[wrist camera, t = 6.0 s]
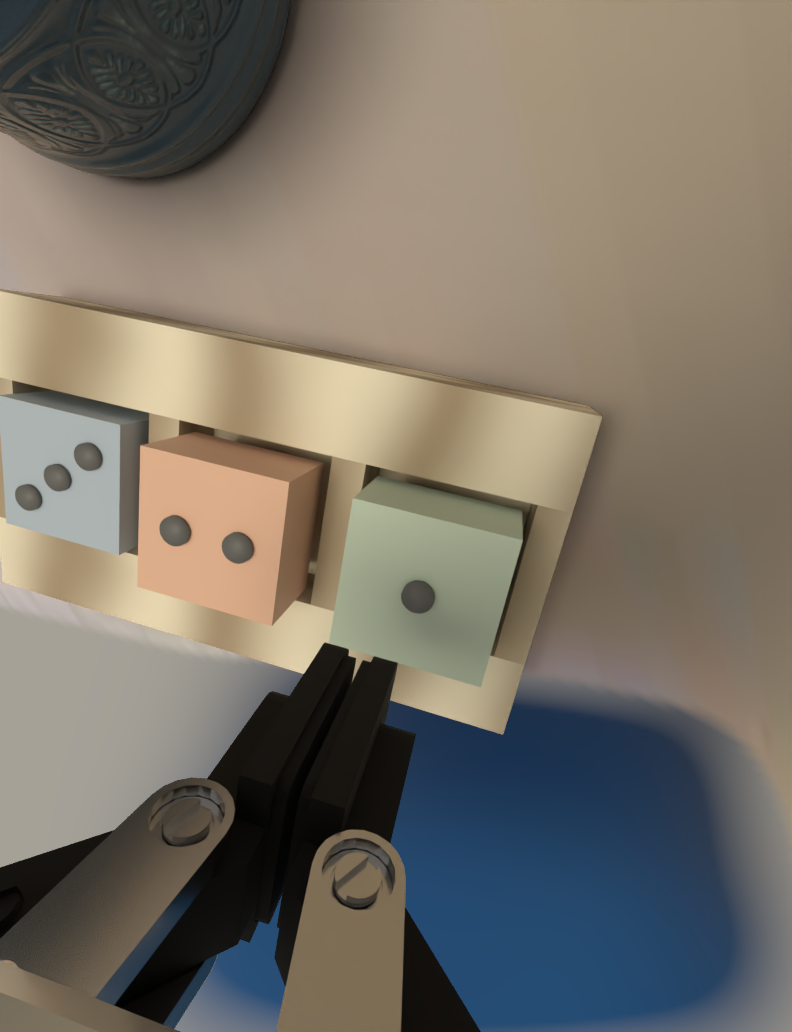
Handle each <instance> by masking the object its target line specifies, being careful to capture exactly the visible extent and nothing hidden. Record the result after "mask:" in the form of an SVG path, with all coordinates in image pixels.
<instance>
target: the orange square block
mask: <svg viewBox="0 0 792 1032" xmlns="http://www.w3.org/2000/svg"><path fill="white" fill-rule="evenodd" d="M323 465H324V463H323V462H319V461H315V460H311V459H306V458H302V457H298V456H294V455H290V454H286V453H281V452H277V451H273V450H269V449H265V448H261V447H256V446H252V445H248V444H244V443H240V442H235V441H231V440H227V439H223V438H219V437H215V436H210V435H206V434H202V433H198V432H193V433H188V434H184V435H180V436H176V437H172V438H168V439H164V440H160V441H156V442H152V443H148V444H144V445H140V484H139V529H138V574H137V587H140V588H143V589H147V590H150V591H153V592H157V593H160V594H164V595H167V596H171V597H174V598H177V599H181V600H184V601H188V602H191V603H194V604H198V605H201V606H205V607H208V608H211V609H215V610H218V611H222V612H225V613H229V614H232V615H235V616H239V617H242V618H246V619H249V620H252V621H256V622H259V623H263V624H266V625H270V626H273V624H274V623H275V622H276V621H277V620H278V619H279V618H280V617H281V616H282V614H283V613H284V612H285V611H286V610H287V609H288V608H289V607H290V605H291V604H292V603H293V602H294V601H295V600H296V599H297V598H298V597H299V595H300V594H301V593H302V592H303V591H304V590H305V589H306V585H307V578H308V571H309V564H310V557H311V550H312V543H313V536H314V528H315V521H316V514H317V507H318V500H319V493H320V486H321V479H322V472H323Z"/></svg>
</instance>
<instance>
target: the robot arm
mask: <svg viewBox="0 0 792 1032" xmlns="http://www.w3.org/2000/svg"><path fill="white" fill-rule="evenodd" d="M355 664H356V658H354V657H351V656H349V649H347V648H344V647H340V646H337V645H333V644H329V643H326V642H325V643H324V644H323V645H322V647H321V648H320V650H319V651H318V653H317V654H316V656H315V657H314V659H313V661H312V662H311V664H310V665H309V667H308V668H307V670H306V671H305V673H304V675H303V676H302V678H301V679H300V681H299V683H298V684H297V686H296V687H295V689H294V690H293V692H292V693H291V695H290V696H287V695H283V694H280V693H277V692H273V691H272V692H270V693H269V694H268V695H267V696H266V697H265V698H264V700H263V701H262V703H261V704H260V706H259V707H258V708H257V710H256V711H255V712H254V714H253V715H252V717H251V718H250V720H249V721H248V722H247V724H246V725H245V726H244V728H243V729H242V731H241V732H240V733H239V735H238V736H237V738H236V739H235V740H234V742H233V743H232V745H231V746H230V748H229V749H228V750H227V752H226V753H225V755H224V756H223V757H222V759H221V760H220V762H219V763H218V764H217V766H216V767H215V769H214V770H213V771H212V773H211V774H210V776H209V777H208V778H207V779H204V778H187V779H182V780H177V781H174V782H172V783H170V784H168V785H165V786H163V787H162V788H160V789H159V790H158V791H156V792H155V793H154V794H152V795H151V796H150V797H149V798H148V799H147V800H146V801H145V802H144V803H143V804H142V805H140V806H139V807H138V808H137V809H136V810H135V811H134V812H133V813H132V814H131V815H130V816H129V817H128V818H127V819H126V820H125V821H124V822H123V823H122V824H120V825H119V826H118V827H117V828H116V829H115V830H113V831H110V832H107V833H104V834H101V835H98V836H95V837H92V838H89V839H86V840H83V841H80V842H77V843H74V844H71V845H68V846H65V847H62V848H58V849H55V850H52V851H49V852H46V853H43V854H40V855H37V856H34V857H31V858H28V859H25V860H22V861H19V862H16V863H13V864H10V865H7V866H4V867H1V868H0V1032H179V1031H177V1030H174V1028H175V1027H176V1025H177V1024H178V1022H179V1021H180V1019H181V1017H182V1016H183V1014H184V1013H185V1011H186V1010H187V1008H188V1006H189V1005H190V1003H191V1002H192V1000H193V998H194V997H195V996H196V994H197V992H198V991H199V989H200V988H201V986H202V985H203V983H204V981H205V980H206V978H207V977H208V975H209V974H210V972H211V970H212V968H213V965H214V963H215V961H216V959H217V954H219V953H221V952H223V951H225V950H227V949H229V948H231V947H233V946H235V945H237V944H238V942H239V940H240V939H241V940H244V941H247V942H250V940H251V938H252V936H253V933H254V931H255V929H256V927H257V924H258V922H259V921H260V922H263V923H266V924H269V923H270V921H271V919H272V917H273V914H274V912H275V909H276V907H277V905H278V902H279V900H280V897H281V895H282V900H281V906H280V912H279V918H278V923H277V927H278V928H279V934H278V940H277V946H276V952H275V960H276V963H277V966H278V968H279V971H280V974H281V976H282V979H283V982H284V984H285V987H286V988H285V993H284V998H283V1002H282V1007H281V1011H280V1016H279V1021H278V1025H277V1030H276V1032H480V1030H479V1028H478V1027H477V1025H476V1023H475V1022H474V1020H473V1018H472V1017H471V1015H470V1014H469V1012H468V1010H467V1008H466V1007H465V1005H464V1004H463V1002H462V1000H461V999H460V997H459V995H458V994H457V992H456V990H455V989H454V987H453V986H452V984H451V982H450V980H449V979H448V977H447V976H446V974H445V972H444V971H443V969H442V967H441V966H440V964H439V962H438V961H437V959H436V957H435V956H434V954H433V952H432V951H431V949H430V947H429V946H428V944H427V942H426V941H425V939H424V938H423V936H422V934H421V933H420V931H419V929H418V928H417V926H416V924H415V923H414V921H413V919H412V918H411V916H410V914H409V913H408V911H407V909H406V908H405V886H406V884H405V883H406V879H405V871H404V865H403V863H402V861H401V859H400V856H399V854H398V853H397V851H396V850H395V849H394V848H393V847H392V846H391V844H390V841H391V837H392V833H393V828H394V825H395V820H396V816H397V812H398V808H399V804H400V799H401V795H402V791H403V786H404V782H405V778H406V774H407V770H408V765H409V761H410V757H411V753H412V748H413V744H414V740H415V736H416V734H414V733H411V732H407V731H404V730H401V729H398V728H394V727H391V726H387V725H385V721H386V716H387V712H388V707H389V703H390V698H391V694H392V689H393V685H394V680H395V676H396V671H397V666H398V663H397V662H394V661H390V660H386V659H383V658H379V657H376V656H374V657H373V659H372V661H371V662H369V661H365V660H363V661H362V662H361V664H360V667H359V669H358V671H357V673H356V675H355V677H354V679H353V674H354V669H355ZM352 680H353V681H352ZM282 893H283V894H282Z"/></svg>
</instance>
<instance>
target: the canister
mask: <svg viewBox="0 0 792 1032" xmlns="http://www.w3.org/2000/svg"><path fill="white" fill-rule="evenodd" d="M289 7H290V0H0V132H3V133H5V134H8V135H10V136H11V137H12V138H14V139H15V140H17V141H18V142H19V143H21V144H23V145H24V146H26V147H28V148H29V149H31V150H33V151H34V152H36V153H39V154H41V155H43V156H45V157H47V158H50V159H52V160H55V161H57V162H61V163H63V164H65V165H67V166H70V167H72V168H75V169H78V170H82V171H85V172H89V173H94V174H100V175H109V176H121V177H128V178H152V177H159V176H164V175H168V174H172V173H175V172H178V171H181V170H183V169H186V168H188V167H190V166H192V165H194V164H196V163H197V162H199V161H201V160H203V159H204V158H206V157H207V156H208V155H210V154H211V153H213V152H214V151H215V150H216V149H218V148H219V147H220V146H221V145H222V144H223V143H225V142H226V141H227V140H228V139H229V138H230V137H231V135H232V134H233V133H234V132H235V131H236V130H237V129H238V128H239V126H240V125H241V124H242V123H243V122H244V120H245V119H246V117H247V116H248V114H249V113H250V112H251V110H252V109H253V107H254V105H255V104H256V102H257V100H258V99H259V97H260V95H261V93H262V91H263V89H264V87H265V85H266V84H267V81H268V79H269V77H270V74H271V72H272V70H273V67H274V65H275V62H276V59H277V56H278V53H279V50H280V47H281V43H282V40H283V36H284V32H285V28H286V23H287V19H288V13H289Z"/></svg>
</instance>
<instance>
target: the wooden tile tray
mask: <svg viewBox="0 0 792 1032" xmlns="http://www.w3.org/2000/svg"><path fill="white" fill-rule="evenodd" d="M54 390H55V391H59V392H63V393H68V394H72V395H76V396H80V397H84V398H89V399H93V400H97V401H101V402H106V403H110V404H114V405H118V406H122V407H127V408H131V409H135V410H139V411H143V412H148V413H149V443H152V442H156V441H160V440H164V439H168V438H172V437H176V436H180V435H184V434H188V433H193V432H198V433H202V434H206V435H210V436H215V437H219V438H223V439H227V440H231V441H235V442H240V443H244V444H248V445H252V446H256V447H261V448H265V449H269V450H273V451H277V452H281V453H286V454H290V455H294V456H298V457H302V458H306V459H311V460H315V461H319V462H323V463H324V465H323V472H322V479H321V486H320V493H319V500H318V507H317V514H316V521H315V528H314V536H313V543H312V550H311V557H310V564H309V571H308V578H307V585H306V589H305V590H304V591H303V592H302V593H301V594H300V595H299V597H298V598H297V599H296V600H295V601H294V602H293V603H292V604H291V605H290V607H289V608H288V609H287V610H286V611H285V612H284V613H283V614H282V616H281V617H280V618H279V619H278V620H277V621H276V622H275V623H274V624H273V626H270V625H266V624H263V623H259V622H256V621H252V620H249V619H246V618H242V617H239V616H235V615H232V614H229V613H225V612H222V611H218V610H215V609H211V608H208V607H205V606H201V605H198V604H194V603H191V602H188V601H184V600H181V599H177V598H174V597H171V596H167V595H164V594H160V593H157V592H153V591H150V590H147V589H143V588H140V587H137V574H138V546H136V547H134V548H132V549H130V550H128V551H126V552H124V553H122V554H120V555H116V554H113V553H109V552H106V551H102V550H99V549H95V548H92V547H88V546H85V545H81V544H78V543H74V542H71V541H67V540H64V539H60V538H57V537H53V536H50V535H46V534H43V533H39V532H36V531H32V530H29V529H25V528H22V527H18V526H15V525H11V524H8V523H6V510H5V496H4V481H3V466H2V451H1V436H0V555H1V569H2V582H4V583H7V584H10V585H13V586H17V587H20V588H23V589H27V590H30V591H33V592H36V593H40V594H43V595H46V596H50V597H53V598H56V599H59V600H63V601H66V602H69V603H73V604H76V605H79V606H82V607H86V608H89V609H92V610H96V611H99V612H102V613H105V614H109V615H112V616H115V617H118V618H122V619H125V620H128V621H132V622H135V623H138V624H141V625H145V626H148V627H151V628H155V629H158V630H161V631H164V632H168V633H171V634H174V635H178V636H181V637H184V638H187V639H191V640H194V641H197V642H201V643H204V644H207V645H210V646H214V647H217V648H220V649H224V650H227V651H230V652H233V653H237V654H240V655H243V656H247V657H250V658H253V659H256V660H260V661H263V662H266V663H270V664H273V665H276V666H279V667H283V668H286V669H289V670H293V671H296V672H300V673H302V674H304V673H305V671H306V670H307V668H308V667H309V665H310V664H311V662H312V661H313V659H314V657H315V656H316V654H317V653H318V651H319V650H320V648H321V647H322V645H323V644H324V643H325V642H326V643H329V640H330V634H331V628H332V622H333V616H334V610H335V603H336V597H337V591H338V585H339V579H340V573H341V567H342V561H343V555H344V549H345V543H346V537H347V531H348V524H349V518H350V512H351V506H352V500H353V498H354V497H355V496H356V495H357V494H358V493H359V492H360V491H361V490H363V489H364V488H365V487H366V486H367V485H368V484H369V483H371V482H372V481H373V480H374V479H375V478H376V477H377V476H381V477H386V478H390V479H394V480H398V481H402V482H406V483H411V484H415V485H419V486H423V487H427V488H431V489H436V490H440V491H444V492H448V493H452V494H457V495H461V496H465V497H469V498H473V499H477V500H482V501H486V502H490V503H494V504H498V505H502V506H507V507H511V508H515V509H519V510H522V525H523V542H522V545H521V549H520V552H519V556H518V559H517V563H516V566H515V570H514V573H513V577H512V580H511V584H510V587H509V591H508V594H507V598H506V601H505V605H504V608H503V612H502V615H501V619H500V622H499V626H498V629H497V633H496V636H495V640H494V643H493V647H492V650H491V654H490V657H489V661H488V664H487V668H486V671H485V675H484V678H483V682H482V685H481V687H478V686H474V685H471V684H467V683H464V682H461V681H457V680H454V679H450V678H447V677H444V676H440V675H437V674H433V673H430V672H427V671H423V670H420V669H416V668H413V667H409V666H406V665H403V664H399V663H398V666H397V671H396V676H395V680H394V685H393V689H392V694H391V698H390V700H391V701H394V702H398V703H401V704H404V705H408V706H411V707H414V708H417V709H421V710H424V711H427V712H431V713H434V714H437V715H440V716H444V717H447V718H450V719H454V720H457V721H460V722H463V723H467V724H470V725H473V726H476V727H480V728H483V729H486V730H490V731H493V732H497V733H499V734H503V733H504V730H505V727H506V723H507V720H508V717H509V714H510V711H511V707H512V704H513V701H514V698H515V695H516V692H517V688H518V685H519V682H520V679H521V676H522V672H523V669H524V666H525V663H526V660H527V657H528V653H529V650H530V647H531V644H532V641H533V637H534V634H535V631H536V628H537V625H538V621H539V618H540V615H541V612H542V609H543V606H544V602H545V599H546V596H547V593H548V590H549V586H550V583H551V580H552V577H553V574H554V570H555V567H556V564H557V561H558V558H559V555H560V551H561V548H562V545H563V542H564V539H565V535H566V532H567V529H568V526H569V523H570V520H571V516H572V513H573V510H574V507H575V504H576V500H577V497H578V494H579V491H580V488H581V484H582V481H583V478H584V475H585V472H586V469H587V465H588V462H589V459H590V456H591V453H592V449H593V446H594V443H595V440H596V437H597V433H598V430H599V427H600V424H601V421H602V418H603V417H602V416H601V415H600V414H598V413H597V412H596V411H594V410H593V409H592V408H590V407H589V406H588V405H583V404H578V403H573V402H569V401H564V400H559V399H554V398H549V397H544V396H539V395H535V394H530V393H525V392H520V391H515V390H510V389H506V388H501V387H496V386H491V385H486V384H481V383H477V382H472V381H467V380H462V379H457V378H452V377H447V376H443V375H438V374H433V373H428V372H423V371H418V370H414V369H409V368H404V367H399V366H394V365H389V364H385V363H380V362H375V361H370V360H365V359H360V358H356V357H351V356H346V355H341V354H336V353H331V352H326V351H322V350H317V349H312V348H307V347H302V346H297V345H293V344H288V343H283V342H278V341H273V340H268V339H264V338H259V337H254V336H249V335H244V334H239V333H234V332H230V331H225V330H220V329H215V328H210V327H205V326H201V325H196V324H191V323H186V322H181V321H176V320H172V319H167V318H162V317H157V316H152V315H147V314H142V313H138V312H133V311H128V310H123V309H118V308H113V307H109V306H104V305H99V304H94V303H89V302H84V301H80V300H75V299H70V298H65V297H59V296H51V295H43V294H34V293H26V292H18V291H9V290H1V289H0V395H6V394H18V393H30V392H42V391H54ZM329 644H331V643H329ZM333 645H334V644H333ZM337 646H338V645H337ZM340 647H341V646H340ZM344 648H345V647H344ZM347 649H348V648H347ZM349 656H351V657H354V658H356V664H355V669H354V674H353V679H354V677H355V675H356V673H357V671H358V669H359V667H360V664H361V662H362V661H363V660H365V661H369V662H371V661H372V659H373V657H374V656H372V655H368V654H365V653H362V652H358V651H355V650H351V649H349ZM352 681H353V680H352Z"/></svg>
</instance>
